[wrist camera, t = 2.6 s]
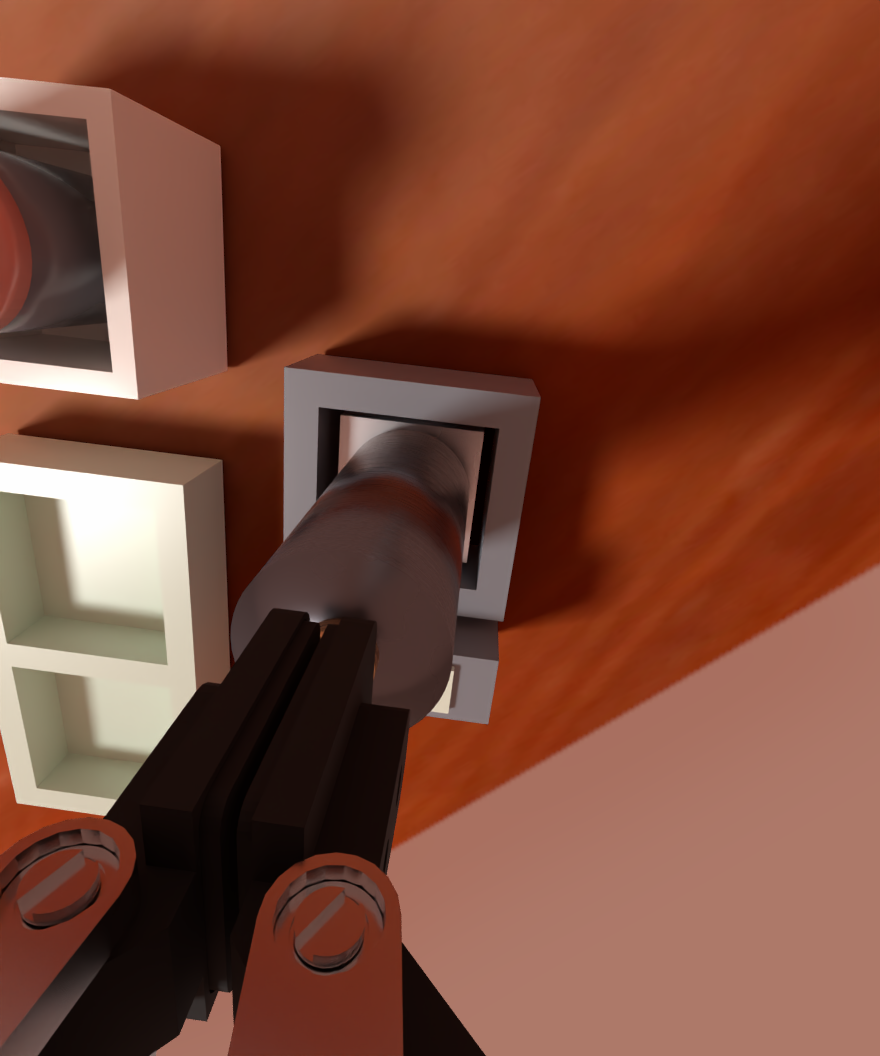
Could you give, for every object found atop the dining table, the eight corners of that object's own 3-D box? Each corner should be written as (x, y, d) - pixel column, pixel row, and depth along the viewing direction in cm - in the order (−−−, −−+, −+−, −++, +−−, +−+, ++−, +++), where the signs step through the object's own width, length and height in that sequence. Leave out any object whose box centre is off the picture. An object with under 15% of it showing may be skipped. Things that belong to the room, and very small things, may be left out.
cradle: (317, 354, 20) (261, 375, 15) (532, 379, 20) (546, 409, 15) (311, 615, 24) (265, 699, 19) (490, 638, 24) (491, 729, 19)
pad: (351, 406, 20) (340, 414, 18) (484, 421, 19) (483, 432, 18) (345, 529, 21) (335, 545, 20) (468, 544, 21) (466, 562, 20)
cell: (346, 422, 18) (211, 550, 9) (476, 437, 18) (463, 583, 9) (341, 541, 20) (220, 748, 11) (461, 556, 20) (437, 778, 11)
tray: (8, 433, 22) (-62, 454, 19) (222, 459, 22) (182, 485, 19) (64, 750, 28) (17, 803, 25) (234, 774, 27) (205, 830, 25)
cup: (6, 123, 18) (-521, -55, 9) (220, 146, 18) (-82, -12, 8) (40, 348, 21) (-340, 401, 11) (227, 370, 20) (1, 443, 11)
